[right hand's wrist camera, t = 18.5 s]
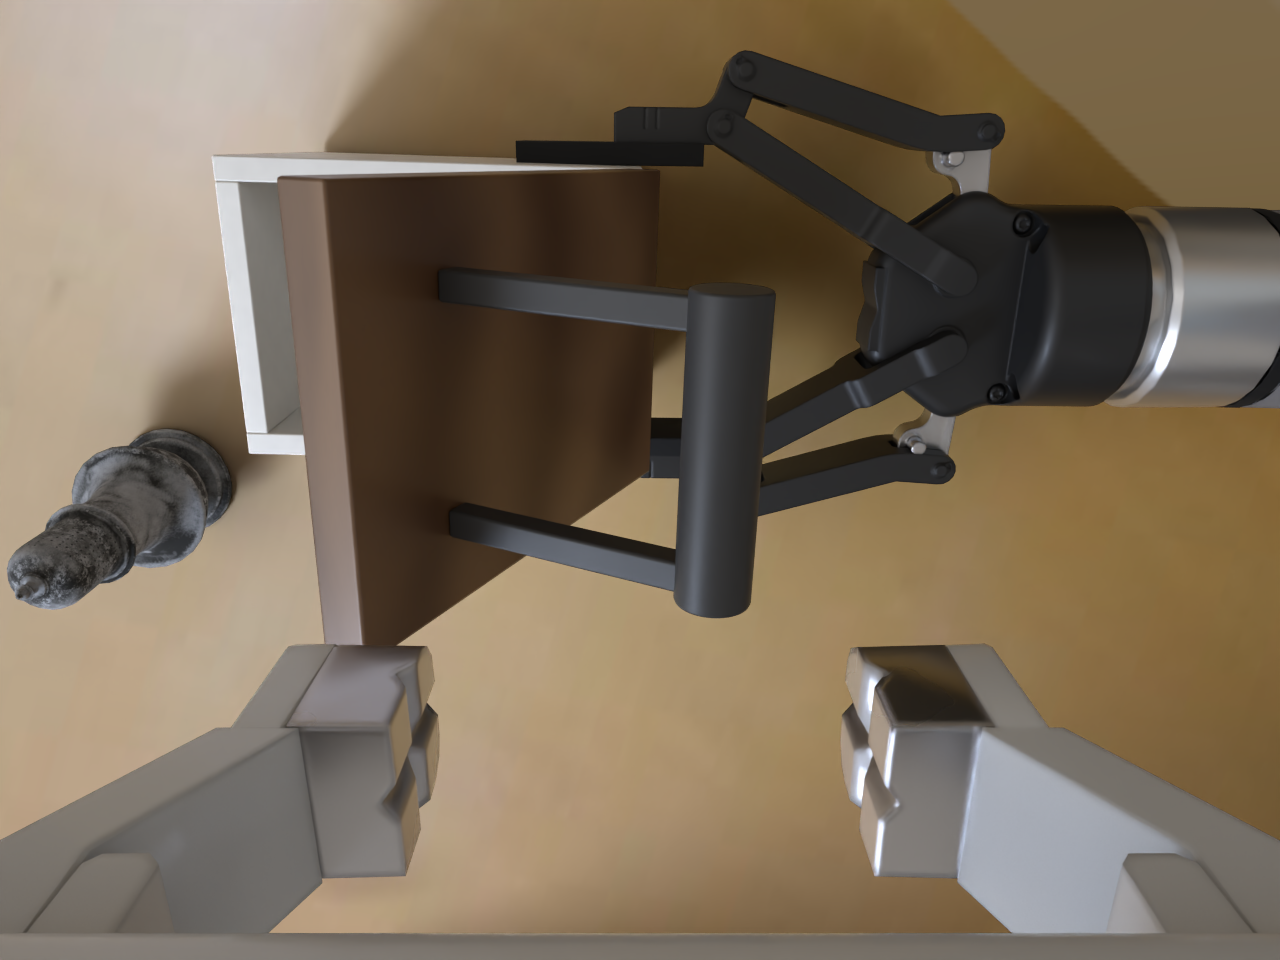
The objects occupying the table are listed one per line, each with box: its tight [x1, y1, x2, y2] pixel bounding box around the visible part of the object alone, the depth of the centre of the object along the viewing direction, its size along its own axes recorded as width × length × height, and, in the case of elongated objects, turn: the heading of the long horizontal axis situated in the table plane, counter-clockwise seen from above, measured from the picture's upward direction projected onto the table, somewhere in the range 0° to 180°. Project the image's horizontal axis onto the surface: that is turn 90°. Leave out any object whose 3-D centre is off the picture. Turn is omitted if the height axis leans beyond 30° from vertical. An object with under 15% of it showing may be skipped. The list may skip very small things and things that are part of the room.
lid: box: [277, 168, 776, 646], centre depth 23 cm, size 14×10×8 cm
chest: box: [212, 152, 642, 455], centre depth 36 cm, size 14×10×11 cm
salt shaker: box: [7, 429, 232, 610], centre depth 38 cm, size 6×6×12 cm
